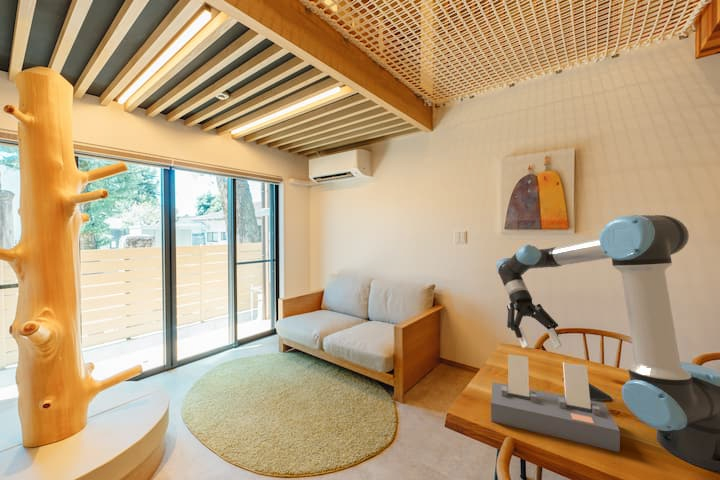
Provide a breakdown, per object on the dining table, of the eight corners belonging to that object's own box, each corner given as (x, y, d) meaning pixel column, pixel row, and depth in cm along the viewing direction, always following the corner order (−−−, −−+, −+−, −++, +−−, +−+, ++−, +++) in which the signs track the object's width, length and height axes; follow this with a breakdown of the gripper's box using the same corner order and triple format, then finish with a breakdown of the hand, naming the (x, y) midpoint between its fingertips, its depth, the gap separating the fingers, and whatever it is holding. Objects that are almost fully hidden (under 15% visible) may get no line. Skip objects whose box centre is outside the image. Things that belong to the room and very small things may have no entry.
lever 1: (508, 392, 100) (507, 354, 104) (528, 396, 97) (527, 357, 101) (508, 392, 98) (508, 354, 102) (529, 396, 95) (528, 357, 99)
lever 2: (565, 403, 93) (562, 362, 97) (589, 408, 90) (585, 365, 94) (566, 404, 91) (563, 362, 95) (590, 408, 88) (586, 365, 92)
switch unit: (492, 398, 107) (492, 376, 107) (603, 421, 93) (604, 396, 93) (491, 421, 95) (491, 396, 94) (619, 452, 81) (620, 423, 80)
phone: (592, 399, 104) (561, 378, 119) (592, 402, 104) (561, 380, 119) (614, 398, 104) (579, 377, 119) (614, 401, 104) (579, 379, 119)
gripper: (539, 299, 124) (564, 350, 111) (485, 297, 119) (505, 350, 106) (551, 290, 118) (579, 343, 105) (496, 287, 114) (518, 342, 100)
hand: (542, 346), depth 105 cm, fingers open, 13 cm apart
